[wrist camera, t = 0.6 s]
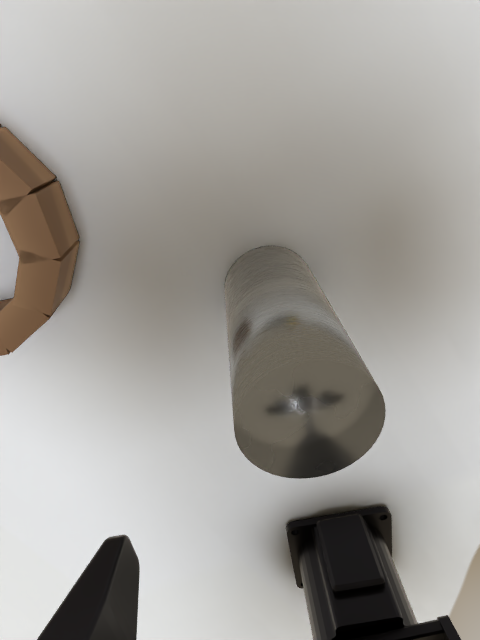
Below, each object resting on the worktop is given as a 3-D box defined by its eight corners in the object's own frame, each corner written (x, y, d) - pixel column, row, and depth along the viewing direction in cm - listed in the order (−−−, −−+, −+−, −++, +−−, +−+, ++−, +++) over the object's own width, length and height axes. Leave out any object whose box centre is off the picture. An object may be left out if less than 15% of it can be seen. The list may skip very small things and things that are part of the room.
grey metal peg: (316, 319, 20) (386, 464, 12) (233, 334, 20) (247, 488, 12) (308, 238, 18) (384, 346, 10) (216, 255, 18) (220, 376, 10)
